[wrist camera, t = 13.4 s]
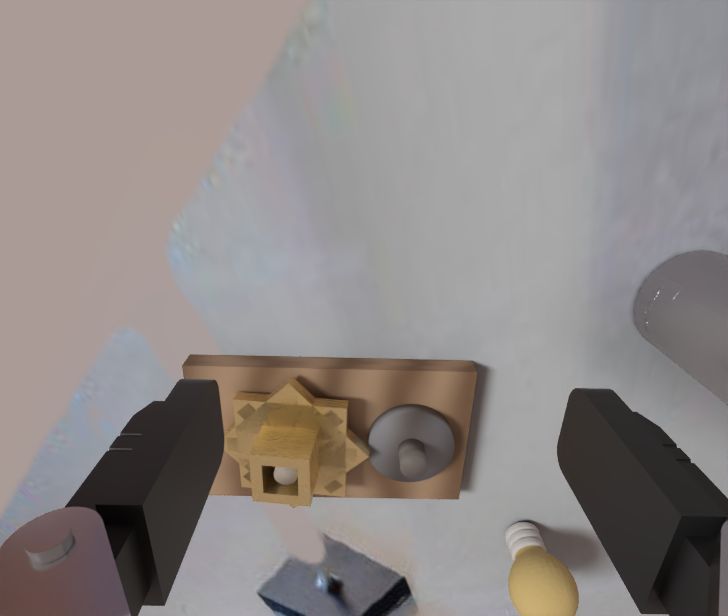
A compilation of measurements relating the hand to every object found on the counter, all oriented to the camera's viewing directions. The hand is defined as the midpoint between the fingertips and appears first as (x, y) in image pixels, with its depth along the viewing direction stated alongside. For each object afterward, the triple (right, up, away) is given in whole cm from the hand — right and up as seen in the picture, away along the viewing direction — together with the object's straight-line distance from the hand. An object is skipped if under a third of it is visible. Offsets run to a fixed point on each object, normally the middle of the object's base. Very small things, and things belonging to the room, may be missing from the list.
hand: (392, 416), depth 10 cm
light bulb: (+17, -22, +41) cm, 49 cm away
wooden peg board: (-4, -9, +34) cm, 36 cm away
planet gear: (-7, -10, +32) cm, 34 cm away
